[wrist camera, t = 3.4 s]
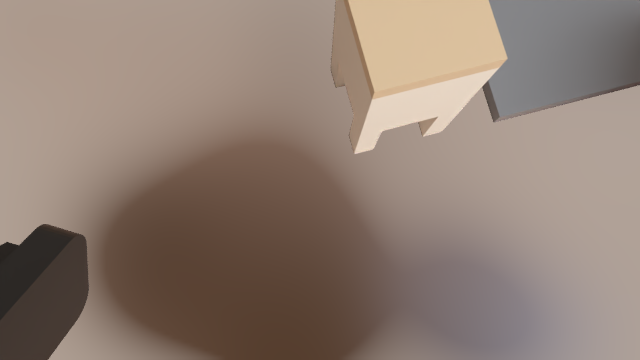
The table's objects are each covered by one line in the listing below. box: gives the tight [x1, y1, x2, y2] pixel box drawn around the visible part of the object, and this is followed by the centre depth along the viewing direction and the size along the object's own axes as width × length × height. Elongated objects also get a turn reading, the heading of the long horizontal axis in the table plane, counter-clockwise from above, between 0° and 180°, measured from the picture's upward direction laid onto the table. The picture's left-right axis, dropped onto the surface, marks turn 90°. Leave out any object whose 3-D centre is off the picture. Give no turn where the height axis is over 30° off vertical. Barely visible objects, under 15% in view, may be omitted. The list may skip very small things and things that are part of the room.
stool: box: [331, 0, 508, 154], centre depth 29 cm, size 6×6×12 cm
